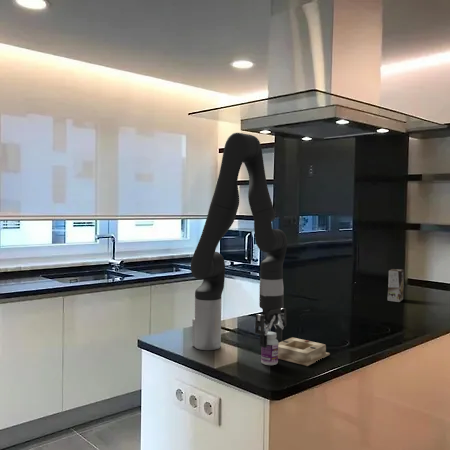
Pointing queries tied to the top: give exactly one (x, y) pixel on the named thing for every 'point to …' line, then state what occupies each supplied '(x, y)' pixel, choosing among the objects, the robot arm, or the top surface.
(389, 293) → the coffee box
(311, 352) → the holder
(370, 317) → the top surface
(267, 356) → the pill bottle
